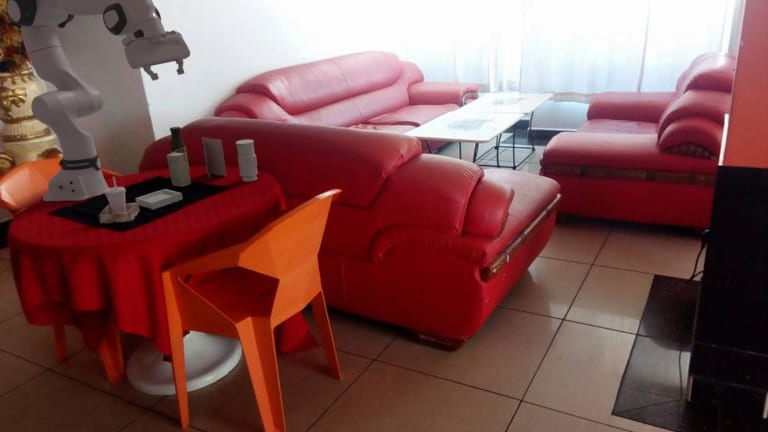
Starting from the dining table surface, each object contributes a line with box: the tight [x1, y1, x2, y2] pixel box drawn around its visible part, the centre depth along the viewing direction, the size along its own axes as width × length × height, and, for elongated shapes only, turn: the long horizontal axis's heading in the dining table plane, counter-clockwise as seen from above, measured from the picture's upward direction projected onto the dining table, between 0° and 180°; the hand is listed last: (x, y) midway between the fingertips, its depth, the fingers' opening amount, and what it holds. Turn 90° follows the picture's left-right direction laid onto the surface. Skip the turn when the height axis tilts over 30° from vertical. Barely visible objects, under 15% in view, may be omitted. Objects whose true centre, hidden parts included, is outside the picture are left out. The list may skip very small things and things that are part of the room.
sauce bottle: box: [169, 126, 190, 171], centre depth 239 cm, size 6×6×20 cm
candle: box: [235, 139, 259, 182], centre depth 231 cm, size 7×7×15 cm
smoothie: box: [104, 176, 127, 213], centre depth 196 cm, size 6×6×14 cm
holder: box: [98, 202, 140, 225], centre depth 198 cm, size 10×10×3 cm
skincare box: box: [166, 153, 192, 188], centre depth 229 cm, size 6×4×12 cm
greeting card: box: [201, 136, 227, 179], centre depth 238 cm, size 11×7×15 cm, turn 21°
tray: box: [135, 188, 184, 210], centre depth 212 cm, size 12×10×2 cm
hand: (169, 76), depth 186 cm, fingers open, 8 cm apart
